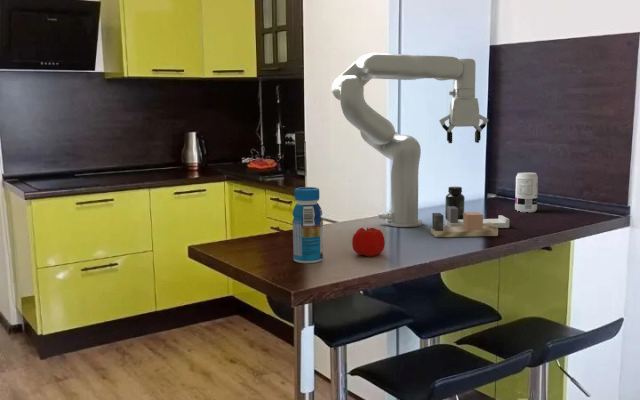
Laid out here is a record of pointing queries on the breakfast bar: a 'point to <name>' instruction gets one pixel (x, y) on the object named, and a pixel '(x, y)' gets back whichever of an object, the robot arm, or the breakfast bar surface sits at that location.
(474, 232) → the birch strip
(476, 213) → the terracotta block
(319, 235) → the beverage bottle
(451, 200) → the supplement bottle
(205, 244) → the breakfast bar surface
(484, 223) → the light grey piece
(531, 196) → the supplement can
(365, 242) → the tomato
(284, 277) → the breakfast bar surface
